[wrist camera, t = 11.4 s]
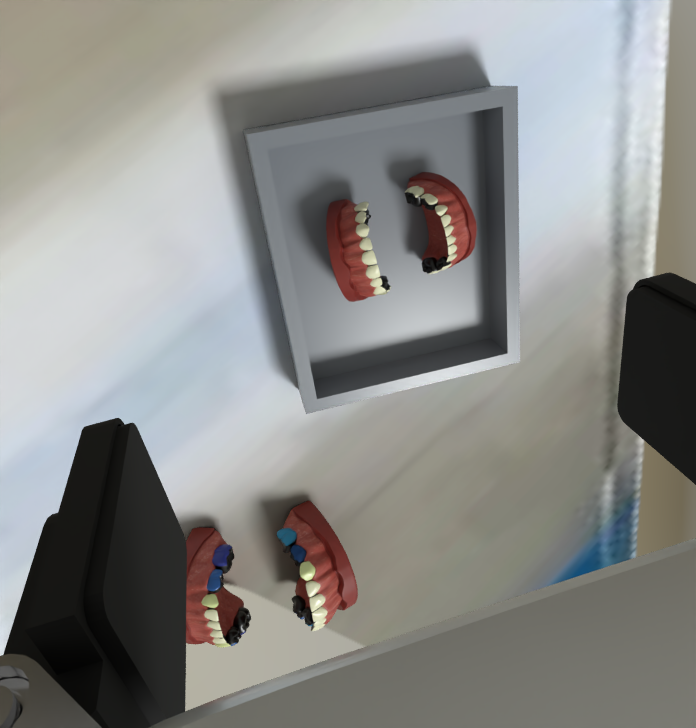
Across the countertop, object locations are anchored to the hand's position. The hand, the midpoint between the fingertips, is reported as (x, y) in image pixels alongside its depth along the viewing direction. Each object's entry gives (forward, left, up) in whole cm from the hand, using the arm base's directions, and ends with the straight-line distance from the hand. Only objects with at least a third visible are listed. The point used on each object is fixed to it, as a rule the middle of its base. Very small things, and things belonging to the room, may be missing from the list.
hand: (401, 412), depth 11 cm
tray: (+4, +6, -24) cm, 25 cm away
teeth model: (+25, -6, -24) cm, 35 cm away
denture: (+3, +6, -23) cm, 24 cm away
